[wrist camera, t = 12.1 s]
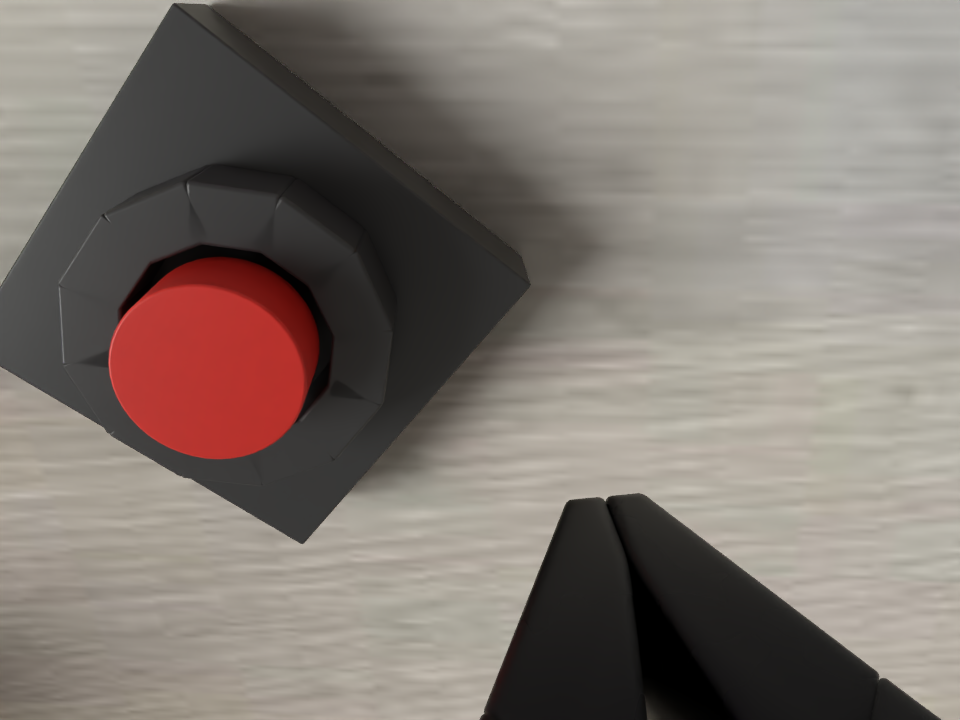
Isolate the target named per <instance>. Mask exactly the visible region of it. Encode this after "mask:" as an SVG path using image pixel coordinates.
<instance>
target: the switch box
mask: <svg viewBox="0 0 960 720" xmlns="http://www.w3.org/2000/svg"><path fill="white" fill-rule="evenodd" d="M208 257H232V258H238V259H243V260H247V261H250V262H253V263H256V264H259V265H261V266H263V267H265V268H267V269H270V270H271V271H273V272H274V273H276V274H278V275H279V276H281V277H282V278H283V279H284V280H286V281H287V282H288V283H289V284H290V285H291V286H292V287H293V288H294V289H295V290H296V291H297V292H298V293H299V294H300V295H301V297H302V298H303V299H304V301H305V302H306V304H307V305H308V307H309V309H310V311H311V313H312V315H313V317H314V320H315V322H316V326H317V329H318V334H319V342H320V349H319V359H318V364H317V367H316V370H315V374H314V376H313V379H312V382H311V385H310V388H309V390H308V393H307V396H306V399H305V402H304V404H303V407H302V410H301V412H300V414H299V416H298V418H297V420H296V421H295V423H294V424H293V425H292V427H291V428H290V429H289V430H288V431H287V432H286V433H285V434H284V436H282V437H281V438H280V439H279V440H277V441H276V442H275V443H273V444H272V445H270V446H268V447H267V448H265V449H263V450H260V451H258V452H256V453H253V454H250V455H246V456H243V457H237V458H231V459H206V458H200V457H195V456H191V455H187V454H184V453H181V452H178V451H176V450H173V449H171V448H169V447H167V446H165V445H163V444H161V443H159V442H158V441H156V440H155V439H153V438H152V437H150V436H149V435H147V434H146V433H145V432H144V431H143V430H142V429H140V428H139V427H138V426H137V425H136V424H135V423H134V422H133V420H132V419H131V418H130V417H129V416H128V414H127V413H126V412H125V410H124V409H123V407H122V406H121V404H120V402H119V400H118V398H117V396H116V394H115V391H114V389H113V386H112V382H111V378H110V373H109V363H108V362H109V349H110V344H111V339H112V337H113V334H114V331H115V329H116V327H117V325H118V324H119V322H120V320H121V319H122V317H123V316H124V315H125V314H126V313H127V311H128V310H129V309H130V308H131V307H132V306H133V305H134V304H135V303H137V302H138V301H139V300H140V299H141V298H142V297H143V296H144V295H145V294H146V293H147V292H148V291H149V290H150V289H151V288H152V287H153V286H155V285H156V284H157V283H158V282H159V281H160V280H161V279H162V278H163V277H164V276H165V275H166V274H168V273H169V272H171V271H172V270H174V269H175V268H177V267H179V266H181V265H183V264H185V263H188V262H191V261H194V260H197V259H202V258H208ZM530 285H531V284H530V281H529V278H528V275H527V272H526V269H525V266H524V263H523V260H522V257H521V256H520V255H519V254H518V253H517V252H515V251H514V250H513V249H512V248H510V247H509V246H508V245H507V244H505V243H504V242H503V241H502V240H500V239H499V238H498V237H497V236H495V235H494V234H493V233H492V232H490V231H489V230H488V229H487V228H485V227H484V226H483V225H482V224H480V223H479V222H478V221H477V220H475V219H474V218H473V217H472V216H470V215H469V214H468V213H467V212H465V211H464V210H463V209H462V208H460V207H459V206H458V205H457V204H455V203H454V202H453V201H452V200H450V199H449V198H448V197H447V196H445V195H444V194H443V193H442V192H440V191H439V190H438V189H437V188H435V187H434V186H433V185H432V184H430V183H429V182H428V181H427V180H425V179H424V178H423V177H422V176H420V175H419V174H418V173H417V172H415V171H414V170H413V169H412V168H410V167H409V166H408V165H407V164H405V163H404V162H403V161H402V160H400V159H399V158H398V157H397V156H395V155H394V154H393V153H392V152H390V151H389V150H388V149H387V148H385V147H384V146H383V145H382V144H380V143H379V142H378V141H377V140H375V139H374V138H373V137H372V136H370V135H369V134H368V133H367V132H365V131H364V130H363V129H362V128H360V127H359V126H358V125H357V124H355V123H354V122H353V121H352V120H350V119H349V118H348V117H347V116H345V115H344V114H343V113H342V112H340V111H339V110H338V109H337V108H335V107H334V106H333V105H332V104H330V103H329V102H328V101H327V100H325V99H324V98H323V97H322V96H320V95H319V94H318V93H317V92H315V91H314V90H313V89H312V88H310V87H309V86H308V85H307V84H305V83H304V82H303V81H302V80H300V79H299V78H298V77H297V76H295V75H294V74H293V73H292V72H291V71H289V70H288V69H287V68H286V67H284V66H283V65H282V64H281V63H279V62H278V61H277V60H276V59H274V58H273V57H272V56H271V55H269V54H268V53H267V52H266V51H264V50H263V49H262V48H261V47H259V46H258V45H257V44H256V43H254V42H253V41H252V40H251V39H249V38H248V37H247V36H246V35H244V34H243V33H242V32H241V31H239V30H238V29H237V28H236V27H234V26H233V25H232V24H231V23H229V22H228V21H227V20H226V19H224V18H223V17H222V16H221V15H219V14H218V13H217V12H216V11H214V10H213V9H212V8H211V7H209V6H208V5H206V4H184V3H174V4H172V6H171V7H170V9H169V11H168V12H167V14H166V16H165V17H164V19H163V20H162V22H161V24H160V25H159V27H158V29H157V30H156V32H155V34H154V35H153V37H152V39H151V40H150V42H149V43H148V45H147V47H146V48H145V50H144V52H143V53H142V55H141V57H140V58H139V60H138V62H137V63H136V65H135V66H134V68H133V70H132V71H131V73H130V75H129V76H128V78H127V80H126V81H125V83H124V85H123V86H122V88H121V89H120V91H119V93H118V94H117V96H116V98H115V99H114V101H113V103H112V104H111V106H110V107H109V109H108V111H107V112H106V114H105V116H104V117H103V119H102V121H101V122H100V124H99V126H98V127H97V129H96V130H95V132H94V134H93V135H92V137H91V139H90V140H89V142H88V144H87V145H86V147H85V149H84V150H83V152H82V153H81V155H80V157H79V158H78V160H77V162H76V163H75V165H74V167H73V168H72V170H71V171H70V173H69V175H68V176H67V178H66V180H65V181H64V183H63V185H62V186H61V188H60V190H59V191H58V193H57V194H56V196H55V198H54V199H53V201H52V203H51V204H50V206H49V208H48V209H47V211H46V213H45V214H44V216H43V217H42V219H41V221H40V222H39V224H38V226H37V227H36V229H35V231H34V232H33V234H32V235H31V237H30V239H29V240H28V242H27V244H26V245H25V247H24V249H23V250H22V252H21V254H20V255H19V257H18V258H17V260H16V262H15V263H14V265H13V267H12V268H11V270H10V272H9V273H8V275H7V277H6V278H5V280H4V281H3V283H2V285H1V286H0V366H1V367H2V368H4V369H6V370H7V371H9V372H11V373H13V374H14V375H16V376H18V377H19V378H21V379H23V380H24V381H26V382H28V383H29V384H31V385H33V386H35V387H36V388H38V389H40V390H41V391H43V392H45V393H46V394H48V395H50V396H51V397H53V398H55V399H57V400H58V401H60V402H62V403H63V404H65V405H67V406H68V407H70V408H72V409H74V410H75V411H77V412H79V413H80V414H82V415H84V416H85V417H87V418H89V419H90V420H92V421H94V422H96V423H97V424H99V425H101V426H102V427H104V428H105V430H106V431H107V433H109V434H110V435H111V436H113V437H114V438H116V439H118V440H119V441H121V442H123V443H124V444H126V445H128V446H130V447H131V448H133V449H135V450H136V451H138V452H140V453H141V454H143V455H145V456H147V457H148V458H150V459H152V460H153V461H155V462H157V463H158V464H160V465H162V466H164V467H165V468H167V469H169V470H170V471H172V472H174V473H175V474H177V475H179V476H182V477H183V478H190V479H192V480H194V481H196V482H197V483H199V484H201V485H202V486H204V487H206V488H207V489H209V490H211V491H212V492H214V493H216V494H218V495H219V496H221V497H223V498H224V499H226V500H228V501H229V502H231V503H233V504H235V505H236V506H238V507H240V508H241V509H243V510H245V511H246V512H248V513H250V514H251V515H253V516H255V517H257V518H258V519H260V520H262V521H263V522H265V523H267V524H268V525H270V526H272V527H274V528H275V529H277V530H279V531H280V532H282V533H284V534H285V535H287V536H289V537H290V538H292V539H294V540H296V541H297V542H299V543H301V544H303V543H305V541H306V540H307V539H308V538H309V537H310V536H311V535H312V533H313V532H314V531H315V530H316V529H317V528H318V527H319V525H320V524H321V523H322V522H323V521H324V520H325V519H326V518H327V516H328V515H329V514H330V513H331V512H332V511H333V510H334V508H335V507H336V506H337V505H338V504H339V503H340V502H341V500H342V499H343V498H344V497H345V496H346V495H347V494H348V493H349V491H350V490H351V489H352V488H353V487H354V486H355V485H356V483H357V482H358V481H359V480H360V479H361V478H362V477H363V475H364V474H365V473H366V472H367V471H368V470H369V469H370V468H371V466H372V465H373V464H374V463H375V462H376V461H377V460H378V458H379V457H380V456H381V455H382V454H383V453H384V452H385V450H386V449H387V448H388V447H389V446H390V445H391V444H392V443H393V441H394V440H395V439H396V438H397V437H398V436H399V435H400V433H401V432H402V431H403V430H404V429H405V428H406V427H407V425H408V424H409V423H410V422H411V421H412V420H413V419H414V418H415V416H416V415H417V414H418V413H419V412H420V411H421V410H422V408H423V407H424V406H425V405H426V404H427V403H428V402H429V400H430V399H431V398H432V397H433V396H434V395H435V394H436V393H437V391H438V390H439V389H440V388H441V387H442V386H443V385H444V383H445V382H446V381H447V380H448V379H449V378H450V377H451V375H452V374H453V373H454V372H455V371H456V370H457V369H458V368H459V366H460V365H461V364H462V363H463V362H464V361H465V360H466V358H467V357H468V356H469V355H470V354H471V353H472V352H473V350H474V349H475V348H476V347H477V346H478V345H479V344H480V343H481V341H482V340H483V339H484V338H485V337H486V336H487V335H488V333H489V332H490V331H491V330H492V329H493V328H494V327H495V325H496V324H497V323H498V322H499V321H500V320H501V319H502V318H503V316H504V315H505V314H506V313H507V312H508V311H509V310H510V308H511V307H512V306H513V305H514V304H515V303H516V302H517V301H518V299H519V298H520V297H521V296H522V295H523V294H524V293H525V291H526V290H527V289H528V288H529V287H530Z"/></svg>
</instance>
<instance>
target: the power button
mask: <svg viewBox="0 0 960 720" xmlns="http://www.w3.org/2000/svg"><path fill="white" fill-rule="evenodd" d="M319 349H320V342H319V334H318V329H317V326H316V322H315V320H314V317H313V315H312V313H311V311H310V309H309V307H308V305H307V304H306V302H305V301H304V299H303V298H302V297H301V295H300V294H299V293H298V292H297V291H296V290H295V289H294V288H293V287H292V286H291V285H290V284H289V283H288V282H287V281H286V280H284V279H283V278H282V277H281V276H279V275H278V274H276V273H274V272H273V271H271V270H270V269H267V268H265V267H263V266H261V265H259V264H256V263H253V262H250V261H247V260H243V259H238V258H232V257H208V258H202V259H197V260H194V261H191V262H188V263H185V264H183V265H181V266H179V267H177V268H175V269H174V270H172V271H171V272H169V273H168V274H166V275H165V276H164V277H163V278H162V279H161V280H160V281H159V282H158V283H157V284H156V285H155V286H153V287H152V288H151V289H150V290H149V291H148V292H147V293H146V294H145V295H144V296H143V297H142V298H141V299H140V300H139V301H138V302H137V303H135V304H134V305H133V306H132V307H131V308H130V309H129V310H128V311H127V313H126V314H125V315H124V316H123V317H122V319H121V320H120V322H119V324H118V325H117V327H116V329H115V331H114V334H113V337H112V339H111V344H110V349H109V362H108V363H109V373H110V378H111V382H112V386H113V389H114V391H115V394H116V396H117V398H118V400H119V402H120V404H121V406H122V407H123V409H124V410H125V412H126V413H127V414H128V416H129V417H130V418H131V419H132V420H133V422H134V423H135V424H136V425H137V426H138V427H139V428H140V429H142V430H143V431H144V432H145V433H146V434H147V435H149V436H150V437H152V438H153V439H155V440H156V441H158V442H159V443H161V444H163V445H165V446H167V447H169V448H171V449H173V450H176V451H178V452H181V453H184V454H187V455H191V456H195V457H200V458H206V459H231V458H237V457H243V456H246V455H250V454H253V453H256V452H258V451H260V450H263V449H265V448H267V447H268V446H270V445H272V444H273V443H275V442H276V441H277V440H279V439H280V438H281V437H282V436H284V434H285V433H286V432H287V431H288V430H289V429H290V428H291V427H292V425H293V424H294V423H295V421H296V420H297V418H298V416H299V414H300V412H301V410H302V407H303V404H304V402H305V399H306V396H307V393H308V390H309V388H310V385H311V382H312V379H313V376H314V374H315V370H316V367H317V364H318V359H319Z"/></svg>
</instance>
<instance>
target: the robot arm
mask: <svg viewBox="0 0 960 720" xmlns="http://www.w3.org/2000/svg"><path fill="white" fill-rule="evenodd" d="M480 720H941V719H940V718H939V717H937V716H936V715H934V714H933V713H932V712H930V711H929V710H927V709H926V708H925V707H923V706H922V705H921V704H919V703H918V702H917V701H915V700H914V699H913V698H911V697H910V696H909V695H907V694H906V693H905V692H904V691H902V690H901V689H900V688H898V687H897V686H896V685H894V684H893V683H892V682H890V681H889V680H888V679H886V678H881V679H880V680H879V674H878V672H877V671H875V670H874V669H873V668H871V667H870V666H869V665H868V664H866V663H865V662H864V661H862V660H861V659H860V658H858V657H857V656H856V655H854V654H853V653H852V652H850V651H849V650H848V649H847V648H845V647H844V646H843V645H841V644H840V643H839V642H837V641H836V640H835V639H833V638H832V637H831V636H829V635H828V634H827V633H825V632H824V631H823V630H822V629H820V628H819V627H818V626H816V625H815V624H814V623H812V622H811V621H810V620H808V619H807V618H806V617H804V616H803V615H802V614H801V613H799V612H798V611H797V610H795V609H794V608H793V607H791V606H790V605H789V604H787V603H786V602H785V601H783V600H782V599H781V598H779V597H778V596H777V595H776V594H774V593H773V592H772V591H770V590H769V589H768V588H766V587H765V586H764V585H762V584H761V583H760V582H758V581H757V580H756V579H755V578H753V577H752V576H751V575H749V574H748V573H747V572H745V571H744V570H743V569H741V568H740V567H739V566H737V565H736V564H735V563H733V562H732V561H731V560H730V559H728V558H727V557H726V556H724V555H723V554H722V553H720V552H719V551H718V550H716V549H715V548H714V547H712V546H711V545H710V544H709V543H707V542H706V541H705V540H703V539H702V538H701V537H699V536H698V535H697V534H695V533H694V532H693V531H691V530H690V529H689V528H688V527H686V526H685V525H684V524H682V523H681V522H680V521H678V520H677V519H676V518H674V517H673V516H672V515H670V514H669V513H668V512H666V511H665V510H664V509H663V508H661V507H660V506H659V505H657V504H656V503H655V502H653V501H652V500H651V499H649V498H648V497H647V496H645V495H643V494H640V493H636V494H627V495H616V496H610V497H608V498H607V499H606V502H605V501H604V499H602V498H599V497H596V498H585V499H574V500H569V501H568V502H567V503H566V505H565V507H564V509H563V512H562V514H561V517H560V519H559V522H558V524H557V527H556V529H555V532H554V534H553V537H552V540H551V542H550V545H549V547H548V550H547V552H546V555H545V557H544V560H543V562H542V565H541V567H540V570H539V572H538V575H537V577H536V580H535V582H534V585H533V588H532V590H531V593H530V595H529V598H528V600H527V603H526V605H525V608H524V610H523V613H522V615H521V618H520V620H519V623H518V625H517V628H516V630H515V633H514V636H513V638H512V641H511V643H510V646H509V648H508V651H507V653H506V656H505V658H504V661H503V663H502V666H501V668H500V671H499V673H498V676H497V678H496V681H495V684H494V686H493V689H492V691H491V694H490V696H489V699H488V701H487V704H486V706H485V709H484V714H483V715H482V716H481V718H480Z"/></svg>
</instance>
